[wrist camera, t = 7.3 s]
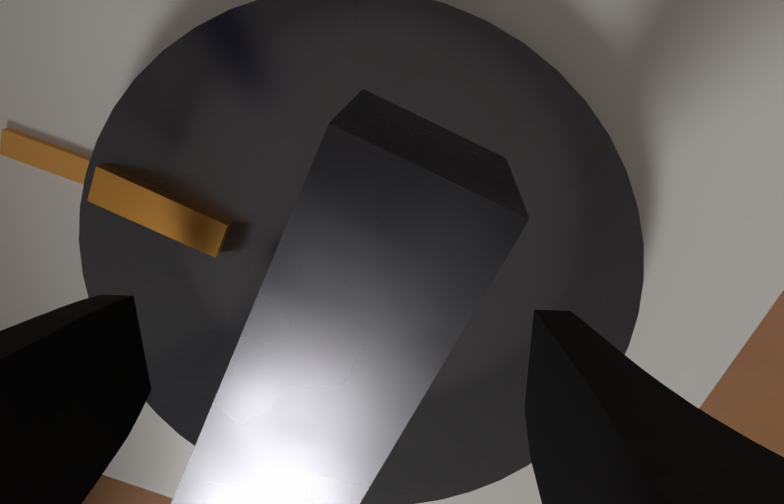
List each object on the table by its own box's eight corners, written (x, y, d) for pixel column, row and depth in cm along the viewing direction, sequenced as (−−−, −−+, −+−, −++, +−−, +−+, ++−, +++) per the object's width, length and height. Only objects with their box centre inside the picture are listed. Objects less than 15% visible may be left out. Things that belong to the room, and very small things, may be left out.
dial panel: (539, 578, 19) (547, 628, 18) (-2, 396, 18) (-43, 432, 17) (915, 19, 12) (983, 21, 11) (75, -328, 11) (16, -381, 10)
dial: (749, 154, 12) (912, 234, 8) (470, 538, 16) (478, 717, 12) (188, -130, 11) (28, -213, 7) (56, 366, 15) (-87, 499, 11)
